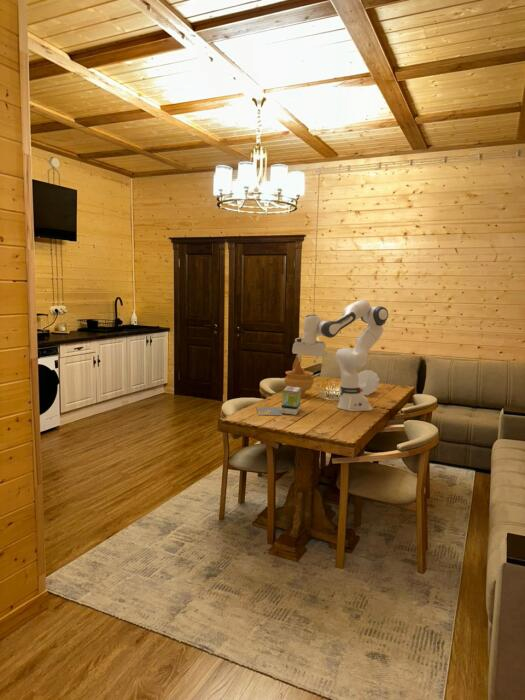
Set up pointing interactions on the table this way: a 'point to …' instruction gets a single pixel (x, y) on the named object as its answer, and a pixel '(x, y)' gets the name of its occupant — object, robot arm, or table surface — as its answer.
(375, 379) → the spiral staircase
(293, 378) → the terracotta urn
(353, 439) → the table surface
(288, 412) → the tea box
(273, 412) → the mat
